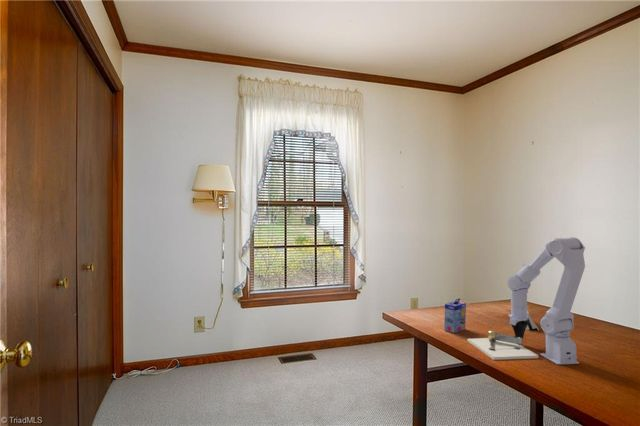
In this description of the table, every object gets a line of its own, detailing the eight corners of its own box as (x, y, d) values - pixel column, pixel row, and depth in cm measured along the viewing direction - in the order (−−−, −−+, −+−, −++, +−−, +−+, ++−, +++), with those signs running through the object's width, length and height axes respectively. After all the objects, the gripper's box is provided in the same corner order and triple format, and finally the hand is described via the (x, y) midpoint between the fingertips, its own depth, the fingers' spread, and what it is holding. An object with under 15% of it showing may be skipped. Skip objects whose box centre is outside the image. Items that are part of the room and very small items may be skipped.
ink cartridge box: (455, 333, 163) (454, 300, 163) (443, 330, 167) (443, 298, 167) (466, 329, 169) (466, 297, 169) (455, 326, 173) (455, 295, 173)
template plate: (538, 358, 134) (538, 353, 134) (493, 359, 133) (493, 355, 133) (507, 339, 154) (506, 335, 154) (467, 341, 153) (467, 337, 153)
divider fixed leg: (490, 341, 149) (490, 338, 149) (494, 342, 149) (494, 339, 149) (489, 349, 140) (489, 346, 140) (493, 350, 140) (493, 347, 140)
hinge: (539, 330, 165) (530, 309, 166) (528, 333, 167) (519, 312, 168) (530, 320, 181) (522, 301, 182) (520, 323, 182) (512, 303, 184)
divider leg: (487, 340, 149) (487, 331, 149) (489, 338, 152) (489, 329, 152) (521, 346, 142) (521, 337, 142) (522, 344, 144) (522, 335, 144)
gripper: (515, 300, 156) (515, 332, 156) (501, 306, 146) (501, 341, 146) (533, 303, 151) (534, 336, 151) (520, 310, 141) (521, 345, 141)
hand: (519, 339), depth 148 cm, fingers closed
